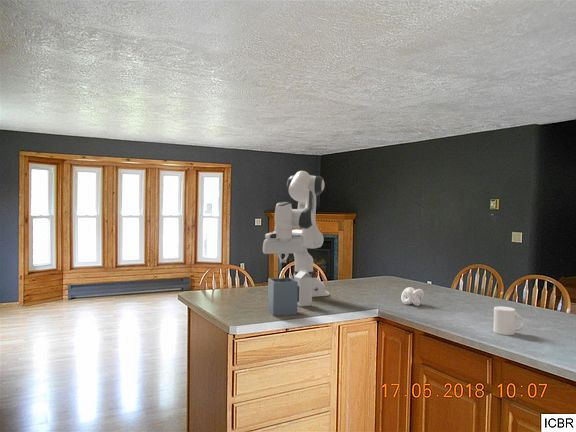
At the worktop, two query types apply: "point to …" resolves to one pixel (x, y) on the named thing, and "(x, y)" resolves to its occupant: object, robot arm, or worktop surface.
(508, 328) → the mug
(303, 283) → the milk carton
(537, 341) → the worktop surface
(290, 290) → the dark grey upright box
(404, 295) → the white knot
